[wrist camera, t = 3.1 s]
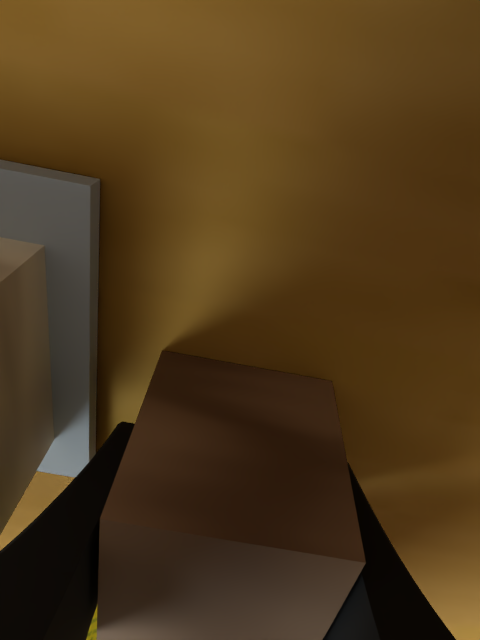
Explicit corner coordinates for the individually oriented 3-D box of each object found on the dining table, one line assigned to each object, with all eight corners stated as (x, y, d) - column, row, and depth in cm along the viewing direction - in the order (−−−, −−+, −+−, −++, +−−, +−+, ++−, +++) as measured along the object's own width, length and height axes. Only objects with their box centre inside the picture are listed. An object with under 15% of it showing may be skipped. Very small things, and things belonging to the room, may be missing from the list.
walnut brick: (149, 468, 14) (96, 647, 10) (162, 350, 12) (100, 518, 8) (291, 492, 14) (300, 679, 10) (331, 381, 12) (366, 563, 8)
